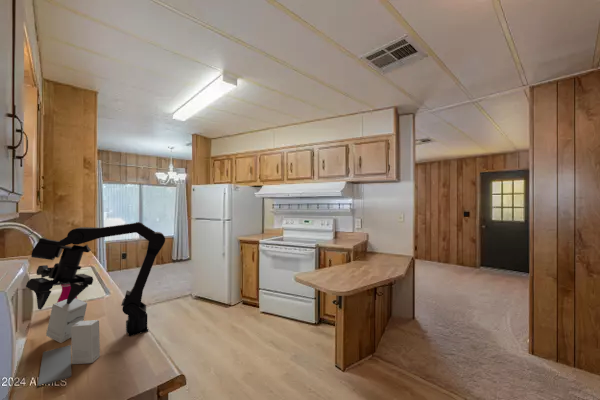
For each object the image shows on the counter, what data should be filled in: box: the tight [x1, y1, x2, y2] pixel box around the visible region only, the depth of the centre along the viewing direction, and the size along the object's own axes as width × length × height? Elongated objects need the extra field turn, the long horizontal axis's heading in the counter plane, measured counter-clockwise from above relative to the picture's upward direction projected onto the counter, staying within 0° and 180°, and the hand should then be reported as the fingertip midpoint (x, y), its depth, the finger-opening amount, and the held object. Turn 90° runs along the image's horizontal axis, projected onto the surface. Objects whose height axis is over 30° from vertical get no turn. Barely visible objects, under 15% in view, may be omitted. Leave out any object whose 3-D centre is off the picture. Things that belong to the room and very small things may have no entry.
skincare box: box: [70, 319, 101, 365], centre depth 86 cm, size 6×4×12 cm
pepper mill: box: [56, 284, 78, 303], centre depth 126 cm, size 7×7×20 cm
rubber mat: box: [37, 344, 72, 387], centre depth 84 cm, size 7×22×1 cm, turn 41°
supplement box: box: [45, 297, 88, 344], centre depth 101 cm, size 7×7×13 cm
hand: (54, 306), depth 95 cm, fingers open, 9 cm apart
